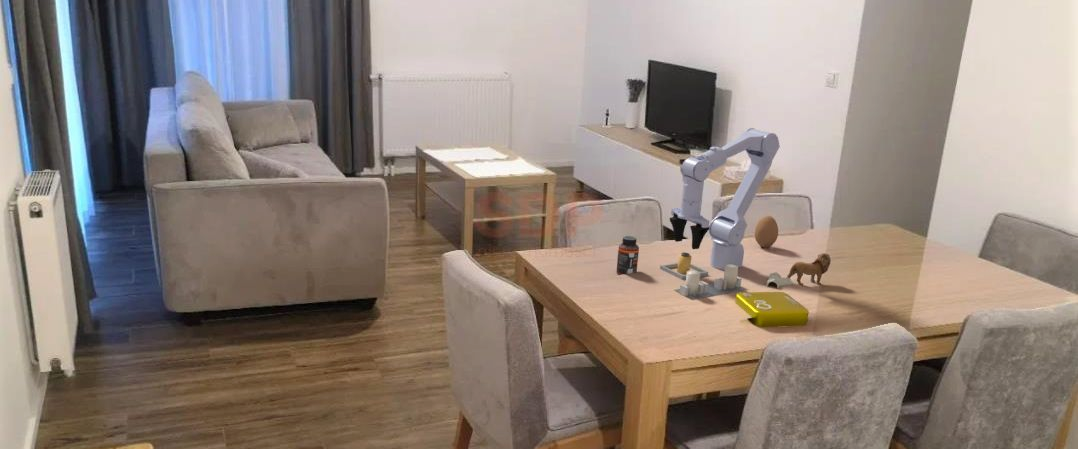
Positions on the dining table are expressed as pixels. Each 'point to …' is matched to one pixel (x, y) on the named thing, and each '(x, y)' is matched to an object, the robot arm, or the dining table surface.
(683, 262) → the cylinder
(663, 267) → the grey tray
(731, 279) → the cream fuse
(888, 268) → the dining table surface
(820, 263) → the lion figurine
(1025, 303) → the dining table surface
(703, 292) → the fuse block
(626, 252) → the supplement bottle
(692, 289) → the cream fuse
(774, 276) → the pipe fitting
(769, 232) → the egg
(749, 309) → the element tile
